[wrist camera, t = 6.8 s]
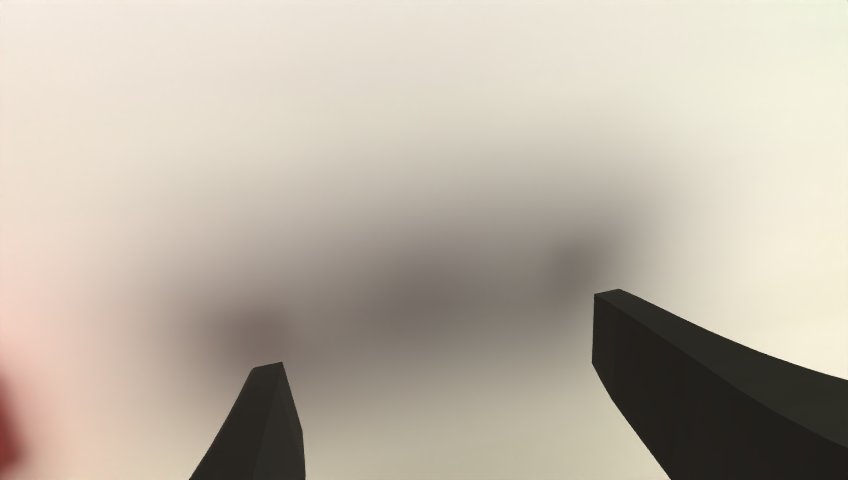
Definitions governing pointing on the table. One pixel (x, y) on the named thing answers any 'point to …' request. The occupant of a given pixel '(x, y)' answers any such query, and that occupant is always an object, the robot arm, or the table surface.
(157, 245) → the table surface
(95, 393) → the table surface
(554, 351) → the table surface
